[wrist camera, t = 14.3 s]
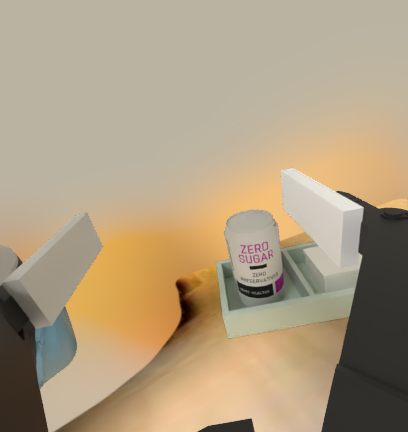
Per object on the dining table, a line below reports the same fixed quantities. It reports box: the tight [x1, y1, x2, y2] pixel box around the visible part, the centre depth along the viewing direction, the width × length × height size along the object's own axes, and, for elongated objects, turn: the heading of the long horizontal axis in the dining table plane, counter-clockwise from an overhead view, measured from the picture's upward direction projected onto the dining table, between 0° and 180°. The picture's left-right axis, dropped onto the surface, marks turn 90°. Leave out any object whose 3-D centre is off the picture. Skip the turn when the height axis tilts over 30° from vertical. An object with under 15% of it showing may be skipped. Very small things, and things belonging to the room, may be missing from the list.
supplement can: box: [224, 210, 285, 307], centre depth 37 cm, size 8×8×15 cm
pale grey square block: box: [303, 246, 362, 294], centre depth 38 cm, size 8×8×5 cm
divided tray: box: [216, 242, 356, 339], centre depth 39 cm, size 27×14×4 cm, turn 91°
